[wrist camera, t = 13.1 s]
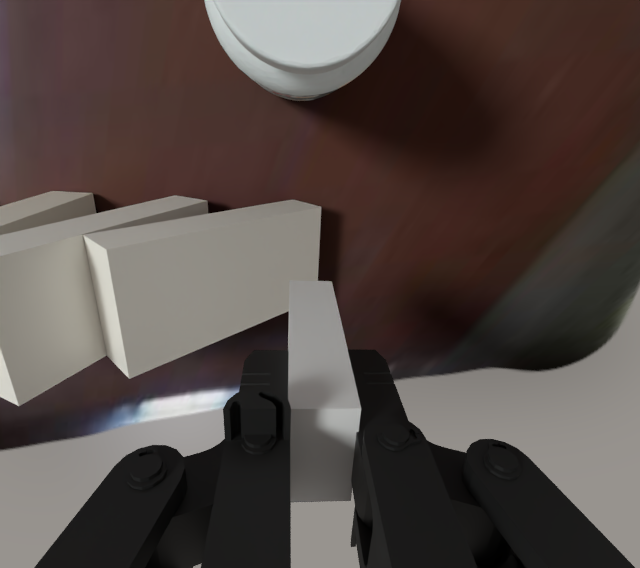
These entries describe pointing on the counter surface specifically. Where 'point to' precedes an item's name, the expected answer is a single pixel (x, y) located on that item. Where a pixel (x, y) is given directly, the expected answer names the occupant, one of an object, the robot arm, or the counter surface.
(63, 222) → the domino
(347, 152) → the counter surface
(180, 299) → the domino
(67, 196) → the domino
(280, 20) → the pill bottle
